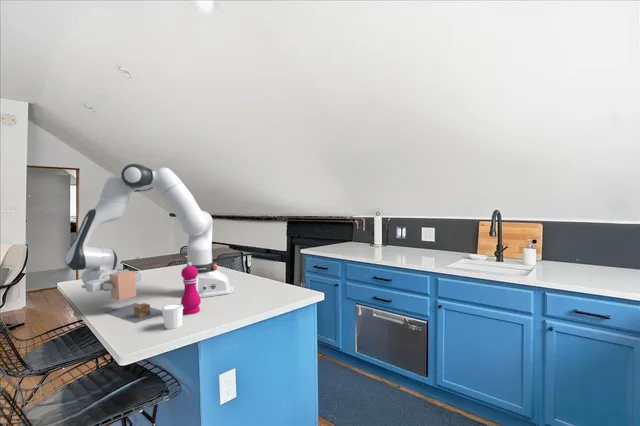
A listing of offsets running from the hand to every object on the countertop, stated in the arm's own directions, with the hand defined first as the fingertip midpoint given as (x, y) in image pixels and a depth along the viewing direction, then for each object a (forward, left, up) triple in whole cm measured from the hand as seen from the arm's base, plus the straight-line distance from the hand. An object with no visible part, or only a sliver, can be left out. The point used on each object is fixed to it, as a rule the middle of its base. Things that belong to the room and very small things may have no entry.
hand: (124, 283), depth 135 cm
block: (-9, +9, -11) cm, 17 cm away
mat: (-5, +4, -11) cm, 13 cm away
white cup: (-23, +23, -11) cm, 35 cm away
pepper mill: (-27, +10, -11) cm, 31 cm away
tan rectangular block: (+1, -1, -6) cm, 6 cm away
